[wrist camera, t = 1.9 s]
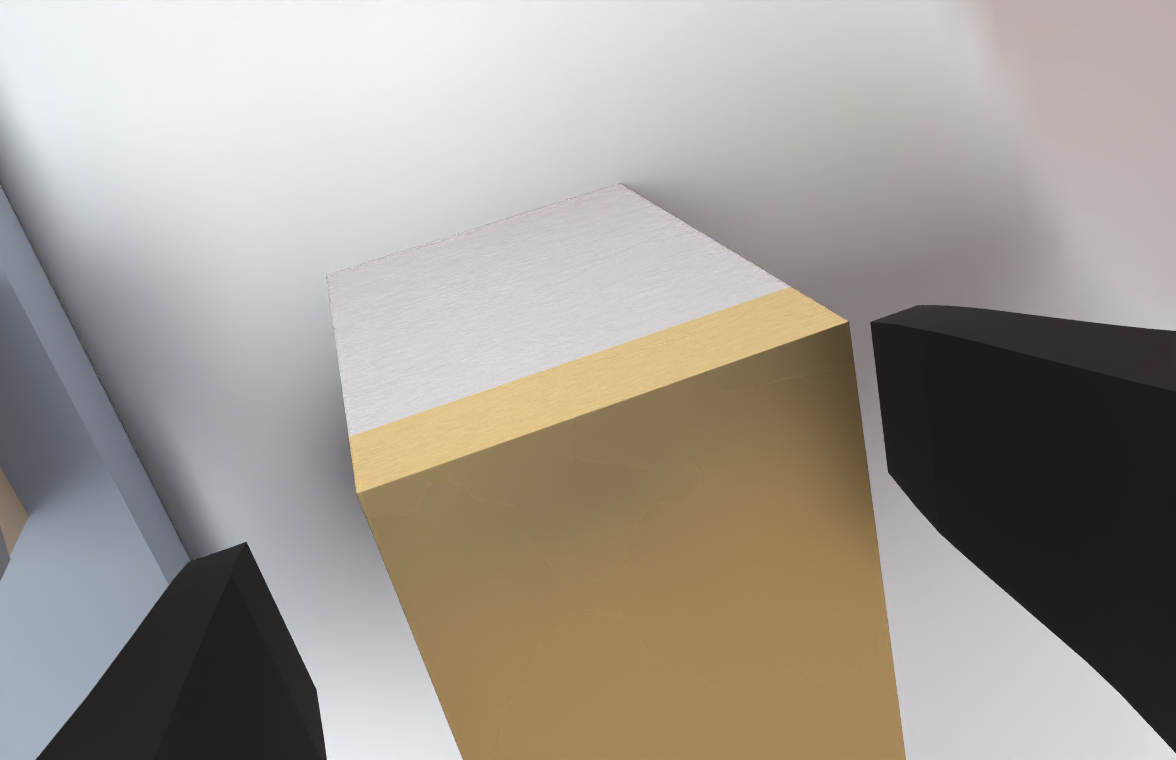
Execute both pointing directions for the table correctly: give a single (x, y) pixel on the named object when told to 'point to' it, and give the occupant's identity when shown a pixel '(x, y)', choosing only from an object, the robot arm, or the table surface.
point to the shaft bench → (64, 513)
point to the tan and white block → (619, 491)
